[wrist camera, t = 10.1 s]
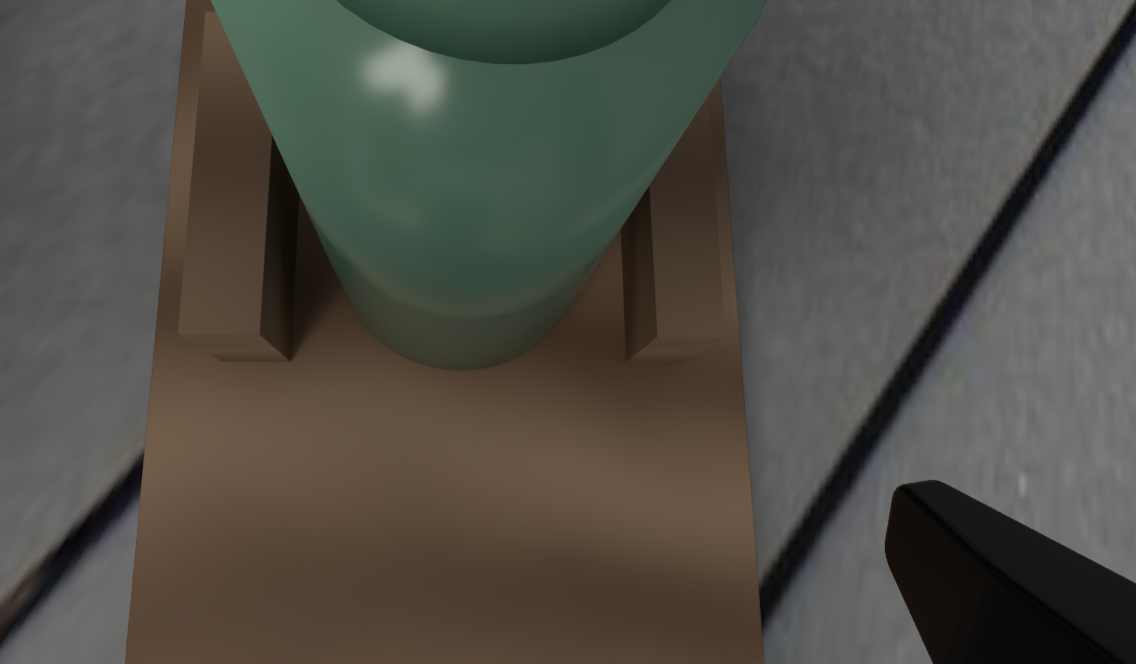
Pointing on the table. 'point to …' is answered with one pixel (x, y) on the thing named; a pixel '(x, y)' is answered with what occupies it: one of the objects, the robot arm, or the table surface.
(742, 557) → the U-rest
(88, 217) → the table surface
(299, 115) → the oil bottle
